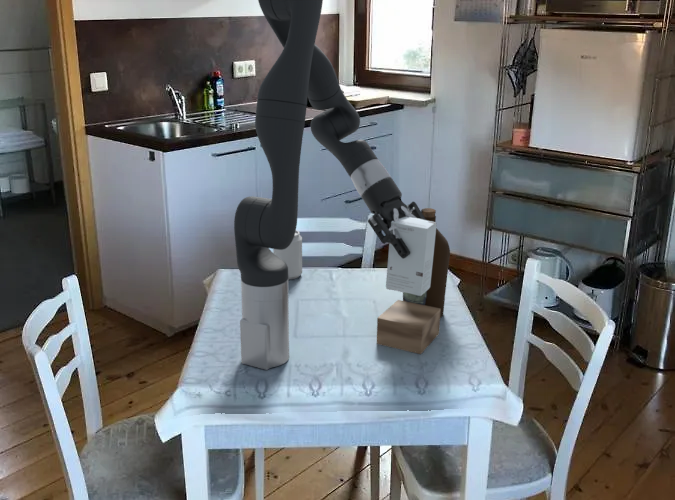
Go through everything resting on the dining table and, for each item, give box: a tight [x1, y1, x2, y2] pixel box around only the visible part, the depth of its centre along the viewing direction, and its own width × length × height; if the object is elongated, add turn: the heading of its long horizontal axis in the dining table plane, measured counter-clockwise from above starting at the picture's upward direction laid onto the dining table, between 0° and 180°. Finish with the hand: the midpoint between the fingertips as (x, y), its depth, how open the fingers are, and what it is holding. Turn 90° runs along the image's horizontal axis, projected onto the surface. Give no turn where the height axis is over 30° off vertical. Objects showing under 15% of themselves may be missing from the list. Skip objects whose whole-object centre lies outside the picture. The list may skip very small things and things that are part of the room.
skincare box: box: [385, 217, 437, 296], centre depth 152 cm, size 8×6×15 cm
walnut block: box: [376, 299, 441, 355], centre depth 157 cm, size 11×10×6 cm
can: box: [272, 229, 303, 280], centre depth 191 cm, size 8×8×12 cm
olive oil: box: [402, 207, 451, 319], centre depth 166 cm, size 11×11×25 cm
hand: (418, 251), depth 150 cm, fingers closed on skincare box, 7 cm apart
